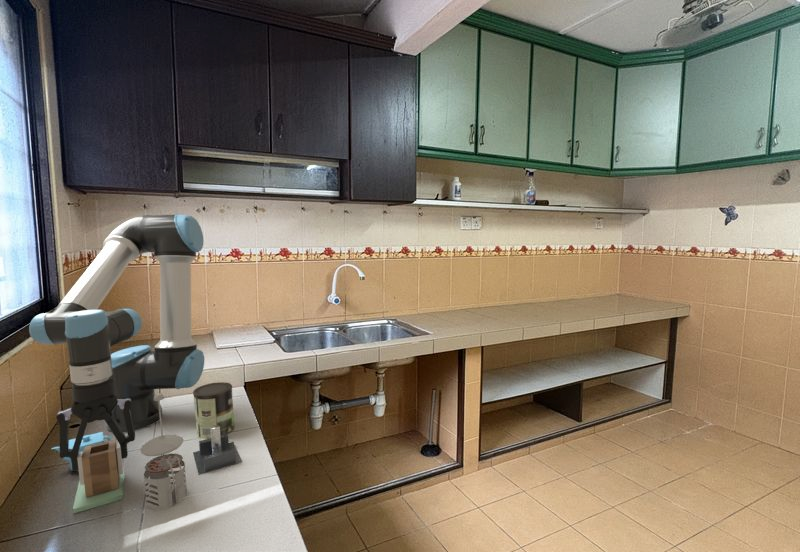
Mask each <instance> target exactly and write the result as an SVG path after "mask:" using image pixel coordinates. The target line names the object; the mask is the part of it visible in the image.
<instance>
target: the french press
mask: <svg viewBox="0 0 800 552" xmlns="http://www.w3.org/2000/svg"><path fill="white" fill-rule="evenodd" d="M164 399H165V398H164V394H163V393H157V394H155V396H154V401H158V404H159V415H160V420H159V425H160V435H159V436H156V437H153V438H151V439H149V440H148V441H147V442H145V443H144V444H143V445H142V446H141V448H140V449H139V450H140V453H141V454H142V455H143V456H146V457H154V458H152V459H150V460H149V461H148V462H147V463H145V466H144V469H145V471H144V472H143V482H144V483H145V484H144V489H145V490H144V492H145V495H146V496H145V504H146V508H149V509H152V510H163V509H168V508H172V507H173V505H174V504H173V493H172V492H173V491H175V503H176V504H179V503H180V502H182V501H183V500H184V498H186V496H187V493H188V489H187V477H186V476H187V475H186V464H185V461H184V460H183V459H184V458H183V456H182V455H181V454H179V453H172V452H174V451H176V450H177V449H179V447H181V446H182V444H183V443H184V441H185V439H184V437H183V436H181V435H177V434H163V427H162V426H163V425H162V418H161V411H160V405H161V401H163V400H164ZM178 468H179V470H173V469H178ZM170 475H172V476H170ZM171 480H172V481H171ZM174 489H175V490H174ZM156 493H157V494H156ZM152 497H154V498H152ZM155 498H156V499H155ZM148 501H149V502H148ZM150 502H152V503H150ZM153 503H154V504H153ZM155 503H156V504H158V505H156V504H155Z"/></svg>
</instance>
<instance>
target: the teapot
mask: <svg viewBox="0 0 800 552" xmlns="http://www.w3.org/2000/svg"><path fill="white" fill-rule="evenodd" d="M75 439H76V437H75V438H72V439H68V449H73V446H74V443H75ZM105 439H107V440H108V441H112V439H111V437H110V436H109V435H104V432H103V431H99V432H97V433H96V432H95V433H92V434H84V435H83V439H82V442H81V445H80V448H79V451H78V453H79V452H83V451H84V447H86V446H91V445H95V444H99V443H104V442H105ZM108 441H107V442H108ZM51 450H56V451H58V452H59V454H60V446H53V447H52V448H51ZM62 459H63V460H65V461H68V462H69V467H70V471H71V472H72V471H73V470H72V462H71V458H70V457H64V458H62ZM76 472H79V470H77V471H76Z"/></svg>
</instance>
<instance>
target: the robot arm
mask: <svg viewBox="0 0 800 552" xmlns="http://www.w3.org/2000/svg"><path fill="white" fill-rule="evenodd" d="M102 246H103V247H102V250H100V252H99V253H98V254H97V256H96V257H94V260H93V261H92V262H91V263H90V264H89V266H88V267H87V268H86V270H85V271H83V273H82V274H81V276H80V277H79V278H78V279H77V281H76V282H75V283H74V284H73V286H72V287H70V289H69V291H68V292H67V293H66V294H65V296H64V297H63V298H62V300H61V301H60V302H59V304H58V305H57V306H56V307H55V309H54V310H53V311H51V312H50V311H49V312H48V311H47V312H45V313H44V312H42V313H39V314H37V315H35V316H34V317H33V318H32V319H31V321H30V324H29V328H28V330H29V331H28V332H29V335H30V337H31V338H32V340H33V341H34V342H35V343H38V344H41V345H53V346H54V345H57V346H58V345H63V344H65V345H67V352H68V362H69V364H68V365H69V374H70V376H69V377H70V382H71V384H72V385H71V395H72V405H71V407H69V408H67V409H65V410H63V409H60V410H58V413H57V414H56V416H55V418H56V420H57V423H58V424H59V447H60V453H59V458H62V459H63V458H64V457H70V458H71V462H72V471H73V472H78V475H79V476H78V479H79V481H80V486H81V485H84V476H83V467H82V455H83V452H79V453H78V451H79V448H80V445H81V442H82V439H83V436H85V432H86V429H87V426H88V424H89V423H93V422H95V421H103V420H104V421H105V422H104V423H105V429H106V430H107V431H109V432H111V433H113V436H114V437H115V440H116V444H117V448H116V449H117V459H118V469H119V475H122V474H123V469H124V463H123V462H124V461H123V459H127V458H128V454H129V453H128V444H129V443H130V442H134V441H135V440H136V432H135V431H137V430H142V429H145V428H147V427H150V426H152V425H154V424H156V423H157V422H160V415H159V404H158V401H154V396H155V395H156V394H155V390H166V389H167V390H169V389H176V390H180V389H187V388H192V387H194V386H195V385H196V384H197V383H198V382H199V380H200V379H201V377H202V374H203V371H204V367H205V355H204V352H203V350H201V349H198V348H197V347H198V345H197V342H196V341H195V340H194V339H193V338H192V262H193V261H195V260H196V258H197V253H199V252H200V251H202V249H203V246H204V234H203V231H202V227H201V226H200V223H199V222H198V220H197V219H196V218H195V217H194V216H192V215H189V214H178V213H177V214H160V215H159V214H152V215H151V214H145V215H144V214H143V215H142V214H141V215H138V216H135V217H132V218H130V219H128V220H126V221H125V222H122V223H121V224H120V225H118V226H117V227H116V228H115V229H113V230H112V231H111V232H110V233H109V234H108V235H107V237H106V238H105V239H104V241H103V242H102ZM145 253H154V255H153V256H154V259H155V260H156V261H157V262H158V263H159V327H160V328H159V330H160V331H159V332H160V333H159V336H160V337H159V339H160V340H159V341H158V342H157V343H156V344H155V345H154V350H152V347H151V345H149V344H148V345H146V344H145V345H137V346H131V347H127V348H124V349H123V348H122V349H120V350H117V351H115V352H113V353H111V347H112V346H115V345H116V344H118V343H121V342H124V341H127V340H130V339H132V337H134V336H136V335H137V334H139V332H140V331H141V329H142V326H143V320H142V318H141V315H140V314H139V313H138V312H137V311H136V310H134V309H131V308H122V309H121V308H118V309H116V310H114V311H113V310H112V311H105V310H104V309H99V307H100V306H101V304H102V303H103V301H104V300H105V299H106V297H107V296H108V294H109V293H110V291H111V290H112V288H113V287H114V286H115V284H116V283H117V281H118V280H119V278H120V277H121V276H122V274H123V272H124V271H125V270H126V269H127V267H128V265H129V264H130V263H131V262H134V261H136V260H137V259H138V258H139V256H140V255H142V254H145ZM160 411H161V419H162V417H163V415H164V413H163V412H164V411H163V407H162V405H161V404H160ZM72 414H74V416H76V417H77V418H78V419H80V423H79V427H78V430H77V433H76V437H75V438H76V439H75V438H74V439H75V443H74V446H73V449H69V420H70V419H71V417H72ZM125 432H126V433H127V435H126V434H124V433H125ZM77 470H79V471H77Z"/></svg>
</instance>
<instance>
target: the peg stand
mask: <svg viewBox="0 0 800 552" xmlns="http://www.w3.org/2000/svg"><path fill="white" fill-rule="evenodd" d="M210 430H211V438H209V439H201V440H199V441H198V450H197V451H194V452H192V455H193V457H194V458H193V459H194V462H195V466H196V471H197V474H198V476H200V475H205V474H207V473H210V472H214V471H217V470H221V469H224V468H229V467H231V466H234V465H238V464H241V463H243V460H242V458H241V455H240V453H239V451H238V449H237V447H236V445H235V443H234V441H230V442H229V434H225V435H221V436H220V426H219V425H215V426H212V427H211V428H210Z"/></svg>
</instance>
